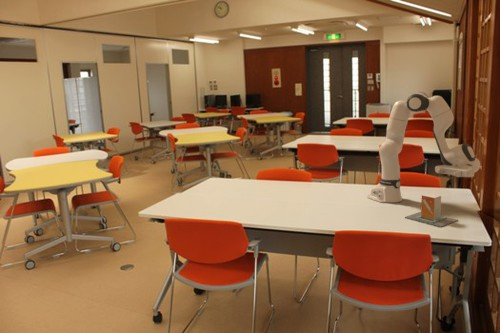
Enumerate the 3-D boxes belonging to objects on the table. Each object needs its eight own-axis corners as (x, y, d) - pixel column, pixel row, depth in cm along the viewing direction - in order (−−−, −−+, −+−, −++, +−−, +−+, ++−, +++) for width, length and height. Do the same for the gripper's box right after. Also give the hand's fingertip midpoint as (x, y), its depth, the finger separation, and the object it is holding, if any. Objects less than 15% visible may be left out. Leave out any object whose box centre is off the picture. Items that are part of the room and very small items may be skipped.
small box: (420, 217, 247) (421, 195, 245) (427, 215, 251) (428, 192, 248) (433, 221, 241) (434, 197, 238) (440, 218, 244) (441, 195, 242)
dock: (404, 218, 250) (404, 215, 250) (422, 212, 259) (422, 210, 259) (440, 227, 232) (440, 225, 232) (458, 220, 241) (458, 218, 241)
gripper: (443, 161, 263) (428, 165, 255) (477, 166, 246) (462, 170, 239) (443, 172, 264) (428, 175, 257) (476, 177, 247) (462, 181, 240)
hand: (445, 173), depth 248 cm, fingers open, 8 cm apart
